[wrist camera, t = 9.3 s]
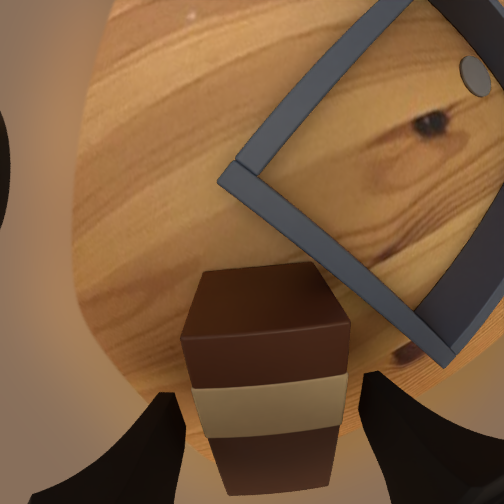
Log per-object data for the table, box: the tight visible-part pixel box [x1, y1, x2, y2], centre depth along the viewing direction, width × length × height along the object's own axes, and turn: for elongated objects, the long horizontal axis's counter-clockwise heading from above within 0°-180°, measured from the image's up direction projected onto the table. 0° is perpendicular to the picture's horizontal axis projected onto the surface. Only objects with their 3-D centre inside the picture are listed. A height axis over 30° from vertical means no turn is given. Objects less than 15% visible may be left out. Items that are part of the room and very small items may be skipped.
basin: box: [217, 0, 504, 369], centre depth 9 cm, size 12×15×4 cm
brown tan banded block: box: [180, 262, 351, 496], centre depth 11 cm, size 5×9×5 cm, turn 5°
